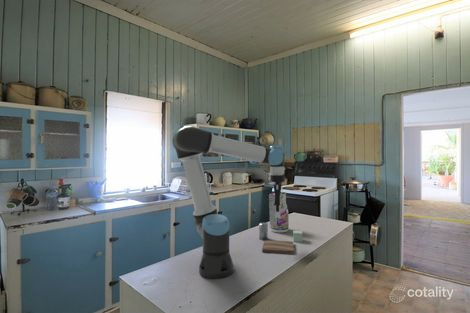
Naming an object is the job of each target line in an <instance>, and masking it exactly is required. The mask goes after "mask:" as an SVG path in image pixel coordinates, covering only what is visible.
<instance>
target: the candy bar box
mask: <svg viewBox="0 0 470 313" xmlns="http://www.w3.org/2000/svg"><path fill="white" fill-rule="evenodd" d="M274 204H275V193H274V192H273V193H271V194H268V208H269V210H268V211H269V226H270V225H271V226H280V225H281V224H283V223H285V222H287V212H286V205H287V192H285V191H281V193H280V218H275V205H274Z"/></svg>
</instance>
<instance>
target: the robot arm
mask: <svg viewBox="0 0 470 313" xmlns="http://www.w3.org/2000/svg"><path fill="white" fill-rule="evenodd" d="M172 146H173V148H174V149H175V152H176V156H177V159H178V160H179V161H180V162H182V165H183V169H184V174H185V177H186V181H187V184H188V188H189V189H188V190H189V193H190V196H191V199H192V203H193V208H194V210H193V212H192V216H193V220H194V229H195V231H196V232H197V234H199V236H200V237H201V238H202V255H201V258H200V259H201V260H200V262H199V265H198V273H199V275H200V276H201V277H203V278H205V279H211V280H213V279H214V280H215V279H217V280H218V279H223V278H226V277H229V276H231V275H232V274H233V273H234V272H235V271H234V270H235V268H234V261H233V259H232V256H231V252H230V221H229V219H228V217H227V216H226V215H224V214H219V213H218V210H217V206H215V205H214V204H213V203H212V198H211V194H210V192H209V186H208V183H207V178H206V175H205V171H204V168H203V164H202V160H201V157H202V154H209V153H214V154H219V155H224V156H228V157H233V158H237V159H243V160H247V161H248V162H249V163H250V164H251V165H269V172H270V173H269V174H270V175H269V176H270V178H269V179H270V182H271V183H274V185H273V193H275V204H274V205H275V218H280V193H281V192H282V184H281V183H284V182H285V180H286V178H285V177H286V176H285V170H286V168H285V148H284V147H285V146H283V145H271V146H269V147H265V146H261V145H256V144H253V143H249V142H245V141H241V140H240V141H239V140H236V139H232V138H227V137H225V136H224V137H223V136H219V135H216V134H214V133H213V132H212V131H210V130H209V131H208V130H205V129H202V128H199V127H196V126H191V125H188V126H187V125H186V126H183V127H182V128H180V129H178V130H177V131H176V132H175V133H174V134H173V137H172Z"/></svg>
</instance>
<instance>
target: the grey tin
mask: <svg viewBox="0 0 470 313" xmlns="http://www.w3.org/2000/svg"><path fill="white" fill-rule="evenodd" d="M268 227H269V226H268V223H267V222H259V223H258V234H259V235H258V239H259V240H261V241H264V240H269V238H268V237H269V236H268V235H269V234H268Z"/></svg>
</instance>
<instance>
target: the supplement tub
mask: <svg viewBox="0 0 470 313" xmlns="http://www.w3.org/2000/svg"><path fill="white" fill-rule="evenodd" d="M286 212H287V222H285V223H283V224H281V225H280V226H271V225H270V224H269V229H270V231H272V232H274V233H278V234H281V233H287V232H288V231H289V229H290V228H289V226H290V225H289V210H288V205H287V204H286Z"/></svg>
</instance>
